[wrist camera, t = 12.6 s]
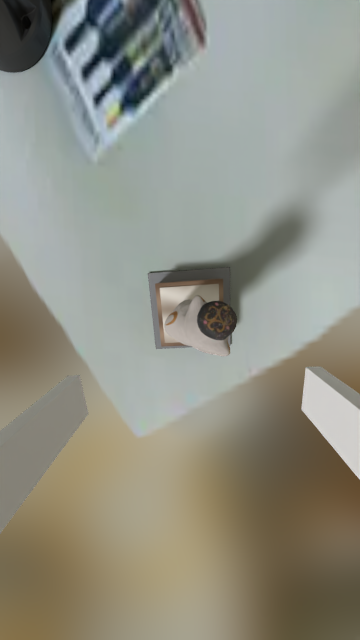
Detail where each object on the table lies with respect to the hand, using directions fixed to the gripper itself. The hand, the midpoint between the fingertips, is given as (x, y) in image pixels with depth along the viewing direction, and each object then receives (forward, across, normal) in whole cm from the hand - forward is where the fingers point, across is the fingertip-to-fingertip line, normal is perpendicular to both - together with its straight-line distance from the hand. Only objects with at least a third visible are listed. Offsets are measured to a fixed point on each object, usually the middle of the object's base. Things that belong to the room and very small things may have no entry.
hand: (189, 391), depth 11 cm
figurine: (+23, 0, 0) cm, 23 cm away
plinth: (+27, 0, 0) cm, 27 cm away
